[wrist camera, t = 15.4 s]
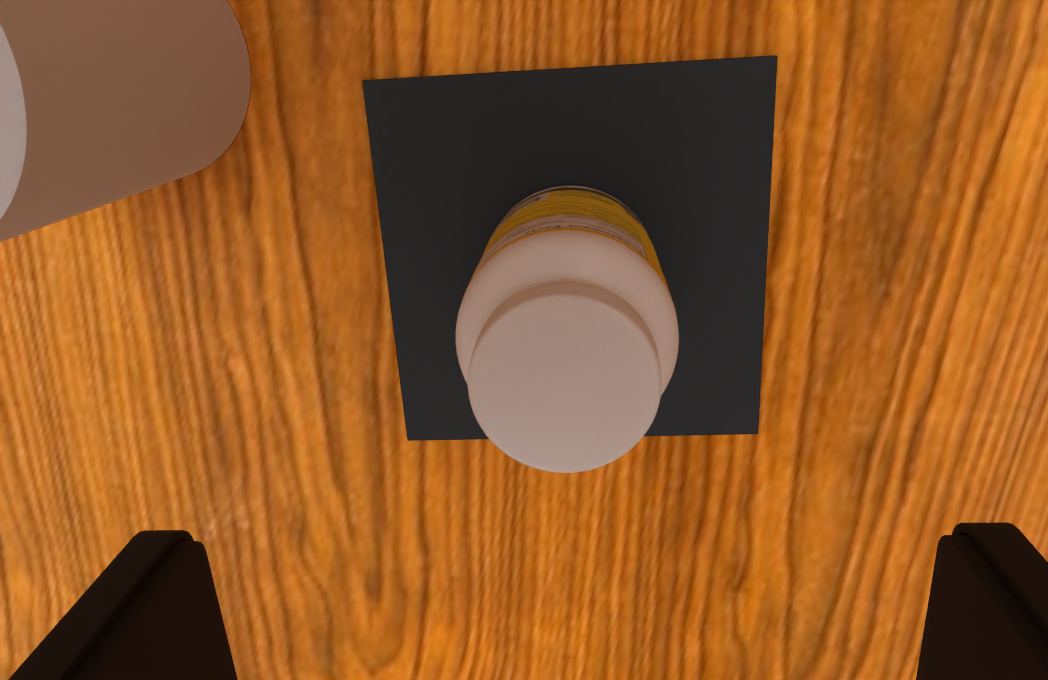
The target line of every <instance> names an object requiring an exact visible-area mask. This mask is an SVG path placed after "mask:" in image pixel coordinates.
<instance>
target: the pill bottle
mask: <svg viewBox="0 0 1048 680" xmlns="http://www.w3.org/2000/svg"><path fill="white" fill-rule="evenodd" d="M678 346H679V331H678V322H677V315H676V311H675V307H674V304H673V301H672V298H671V295H670V292H669V289H668V285H667V283H666V280H665V277H664V274H663V272H662V269H661V266H660V264H659V261H658V258H657V255H656V252H655V250H654V247H653V244H652V241H651V239H650V237H649V235H648V233H647V231H646V230H645V228H644V226H643V225H642V223H641V222H640V220H639V219H638V218H637V216H636V215H635V214H634V213H633V212H632V211H631V210H630V209H629V208H628V207H627V206H625V205H624V204H623V203H621V202H620V201H618V200H617V199H616V198H614V197H612V196H610V195H608V194H606V193H604V192H601V191H599V190H596V189H592V188H588V187H583V186H559V187H552V188H549V189H545V190H542V191H539V192H536V193H534V194H532V195H530V196H529V197H527V198H525V199H524V200H522V201H521V202H519V203H518V204H517V205H516V206H514V207H513V208H512V209H511V210H510V211H509V212H508V213H507V214H506V215H505V216H504V218H503V219H502V220H501V222H500V223H499V224H498V226H497V227H496V229H495V231H494V232H493V234H492V236H491V238H490V240H489V242H488V245H487V247H486V249H485V251H484V254H483V256H482V258H481V260H480V262H479V264H478V266H477V268H476V270H475V272H474V274H473V276H472V279H471V281H470V283H469V285H468V287H467V289H466V291H465V294H464V297H463V300H462V303H461V306H460V309H459V313H458V317H457V323H456V350H457V356H458V360H459V364H460V368H461V371H462V374H463V376H464V379H465V381H466V383H467V385H468V393H469V399H470V403H471V407H472V410H473V413H474V415H475V417H476V419H477V421H478V423H479V425H480V427H481V428H482V430H483V431H484V433H485V434H486V436H487V437H488V438H489V439H490V440H491V441H492V442H493V443H494V444H495V445H496V447H498V448H499V449H500V450H501V451H502V452H504V453H505V454H507V455H508V456H510V457H511V458H513V459H515V460H517V461H518V462H520V463H522V464H525V465H527V466H530V467H533V468H536V469H539V470H543V471H548V472H556V473H575V472H582V471H588V470H592V469H595V468H599V467H601V466H604V465H606V464H608V463H611V462H613V461H615V460H616V459H618V458H620V457H621V456H623V455H624V454H625V453H627V452H628V451H629V450H630V449H632V448H633V447H634V446H635V445H636V444H637V443H638V442H639V441H640V440H641V439H642V437H643V436H644V435H645V433H646V432H647V430H648V429H649V427H650V426H651V424H652V422H653V420H654V418H655V415H656V413H657V410H658V406H659V403H660V398H661V395H662V394H663V392H664V390H665V389H666V387H667V385H668V383H669V381H670V379H671V376H672V374H673V371H674V368H675V364H676V360H677V355H678Z"/></svg>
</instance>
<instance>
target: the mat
mask: <svg viewBox="0 0 1048 680" xmlns="http://www.w3.org/2000/svg"><path fill="white" fill-rule="evenodd" d="M776 73H777V56H760V57H743V58H727V59H710V60H694V61H677V62H661V63H644V64H627V65H611V66H594V67H578V68H561V69H545V70H528V71H511V72H495V73H478V74H462V75H445V76H429V77H412V78H395V79H379V80H364V81H362V83H363V90H364V98H365V106H366V114H367V122H368V130H369V138H370V146H371V154H372V162H373V170H374V178H375V186H376V194H377V201H378V209H379V217H380V225H381V233H382V241H383V249H384V257H385V265H386V273H387V281H388V289H389V297H390V304H391V312H392V320H393V328H394V336H395V344H396V352H397V360H398V368H399V376H400V384H401V392H402V400H403V408H404V415H405V423H406V431H407V439H408V441H409V440H462V439H489V438H488V437H487V436H486V434H485V433H484V431H483V430H482V428H481V427H480V425H479V423H478V421H477V419H476V417H475V415H474V413H473V410H472V407H471V403H470V399H469V393H468V385H467V383H466V381H465V379H464V376H463V374H462V371H461V368H460V364H459V360H458V356H457V350H456V323H457V317H458V313H459V309H460V306H461V303H462V300H463V297H464V294H465V291H466V289H467V287H468V285H469V283H470V281H471V279H472V276H473V274H474V272H475V270H476V268H477V266H478V264H479V262H480V260H481V258H482V256H483V254H484V251H485V249H486V247H487V245H488V242H489V240H490V238H491V236H492V234H493V232H494V231H495V229H496V227H497V226H498V224H499V223H500V222H501V220H502V219H503V218H504V216H505V215H506V214H507V213H508V212H509V211H510V210H511V209H512V208H513V207H514V206H516V205H517V204H518V203H519V202H521V201H522V200H524V199H525V198H527V197H529V196H530V195H532V194H534V193H536V192H539V191H542V190H545V189H549V188H552V187H559V186H583V187H588V188H592V189H596V190H599V191H601V192H604V193H606V194H608V195H610V196H612V197H614V198H616V199H617V200H618V201H620V202H621V203H623V204H624V205H625V206H627V207H628V208H629V209H630V210H631V211H632V212H633V213H634V214H635V215H636V216H637V218H638V219H639V220H640V222H641V223H642V225H643V226H644V228H645V230H646V231H647V233H648V235H649V237H650V239H651V241H652V244H653V247H654V250H655V252H656V255H657V258H658V261H659V264H660V266H661V269H662V272H663V274H664V277H665V280H666V283H667V285H668V289H669V292H670V295H671V298H672V301H673V304H674V307H675V311H676V315H677V322H678V331H679V346H678V355H677V360H676V364H675V368H674V371H673V374H672V376H671V379H670V381H669V383H668V385H667V387H666V389H665V390H664V392H663V394H662V395H661V398H660V403H659V406H658V410H657V413H656V415H655V418H654V420H653V422H652V424H651V426H650V427H649V429H648V430H647V432H646V433H645V435H644V436H674V435H727V434H758V423H759V404H760V384H761V365H762V345H763V326H764V307H765V287H766V268H767V248H768V229H769V209H770V190H771V171H772V151H773V132H774V112H775V93H776Z"/></svg>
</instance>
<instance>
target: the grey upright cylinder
mask: <svg viewBox="0 0 1048 680" xmlns="http://www.w3.org/2000/svg"><path fill="white" fill-rule="evenodd" d="M250 90H251V70H250V61H249V54H248V50H247V46H246V42H245V39H244V35H243V33H242V30H241V27H240V25H239V23H238V20H237V18H236V16H235V14H234V12H233V10H232V9H231V7H230V5H229V4H228V2H227V0H0V242H2V241H4V240H7V239H10V238H13V237H16V236H19V235H21V234H24V233H27V232H30V231H33V230H35V229H38V228H41V227H44V226H47V225H50V224H52V223H55V222H58V221H61V220H64V219H67V218H69V217H72V216H75V215H78V214H81V213H84V212H86V211H89V210H92V209H95V208H98V207H100V206H103V205H106V204H109V203H112V202H115V201H117V200H120V199H123V198H126V197H129V196H132V195H134V194H137V193H140V192H143V191H146V190H148V189H151V188H154V187H157V186H160V185H163V184H165V183H168V182H171V181H174V180H177V179H180V178H182V177H185V176H188V175H191V174H193V173H196V172H198V171H200V170H202V169H204V168H205V167H207V166H209V165H210V164H211V163H213V162H214V161H215V160H217V159H218V158H219V157H220V156H221V155H222V154H223V153H224V152H225V151H226V150H227V149H228V147H229V146H230V145H231V143H232V142H233V141H234V139H235V137H236V136H237V134H238V132H239V130H240V128H241V126H242V124H243V121H244V119H245V115H246V112H247V108H248V104H249V98H250Z"/></svg>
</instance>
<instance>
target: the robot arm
mask: <svg viewBox="0 0 1048 680" xmlns="http://www.w3.org/2000/svg"><path fill="white" fill-rule="evenodd" d="M9 680H237V676H236V672H235V668H234V664H233V660H232V655H231V651H230V647H229V643H228V639H227V635H226V631H225V627H224V623H223V619H222V615H221V610H220V606H219V602H218V598H217V594H216V590H215V586H214V582H213V578H212V574H211V570H210V566H209V561H208V557H207V553H206V550H205V547H204V545H203V544H202V543H201V542H198V541H194V540H193V538H192V536H191V535H190V534H189V532H187V531H184V530H155V531H142V532H139V533H138V534H136V535H135V536H134V537H133V538H132V539H131V540H130V542H129V543H128V544H127V545H126V546H125V547H124V548H123V550H122V551H121V552H120V553H119V554H118V555H117V556H116V558H115V559H114V560H113V561H112V562H111V563H110V564H109V565H108V567H107V568H106V569H105V570H104V571H103V572H102V573H101V575H100V576H99V577H98V578H97V579H96V580H95V581H94V583H93V584H92V585H91V586H90V587H89V588H88V589H87V591H86V592H85V593H84V594H83V595H82V596H81V597H80V599H79V600H78V601H77V602H76V603H75V604H74V605H73V607H72V608H71V609H70V610H69V611H68V612H67V613H66V615H65V616H64V617H63V618H62V619H61V620H60V621H59V623H58V624H57V625H56V626H55V627H54V628H53V629H52V631H51V632H50V633H49V634H48V635H47V636H46V637H45V639H44V640H43V641H42V642H41V643H40V644H39V645H38V647H37V648H36V649H35V650H34V651H33V652H32V653H31V655H30V656H29V657H28V658H27V659H26V660H25V661H24V662H23V664H22V665H21V666H20V667H19V668H18V669H17V670H16V672H15V673H14V674H13V675H12V676H11V677H10V678H9ZM916 680H1048V562H1047V561H1046V560H1045V559H1044V558H1043V556H1042V555H1041V554H1040V553H1039V552H1038V551H1037V550H1036V548H1035V547H1034V546H1033V545H1032V544H1031V543H1030V542H1029V540H1028V539H1027V538H1026V537H1025V536H1024V535H1023V534H1022V532H1021V531H1020V530H1019V529H1018V528H1017V527H1015V526H1014V525H1013V524H1011V523H960V524H958V525H956V527H955V528H954V530H953V532H952V535H944V536H942V537H941V538H940V540H939V543H938V546H937V553H936V559H935V565H934V571H933V577H932V584H931V590H930V596H929V602H928V609H927V615H926V621H925V627H924V633H923V640H922V646H921V652H920V658H919V665H918V671H917V677H916Z"/></svg>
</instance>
